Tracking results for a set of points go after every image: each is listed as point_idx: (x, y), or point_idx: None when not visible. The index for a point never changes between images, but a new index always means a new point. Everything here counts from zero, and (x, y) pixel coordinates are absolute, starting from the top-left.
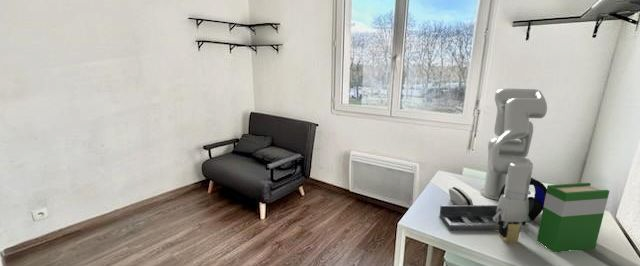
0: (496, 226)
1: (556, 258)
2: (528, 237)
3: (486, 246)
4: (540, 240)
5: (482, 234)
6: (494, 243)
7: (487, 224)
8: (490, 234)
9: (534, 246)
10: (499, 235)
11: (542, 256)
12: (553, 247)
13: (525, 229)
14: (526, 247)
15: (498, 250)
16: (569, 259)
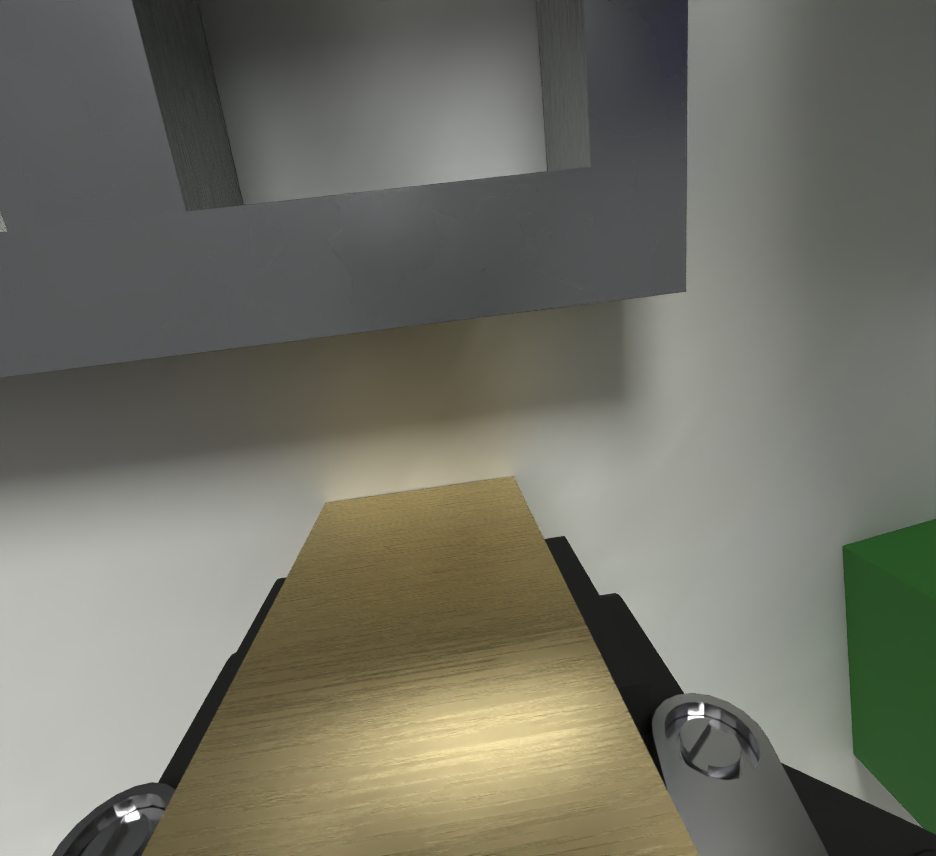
0: (300, 338)
1: None
2: (788, 471)
3: (32, 795)
4: (887, 619)
5: (26, 500)
6: (173, 710)
7: (49, 325)
8: (180, 477)
9: (714, 676)
10: (323, 508)
11: None
12: (916, 805)
13: (925, 204)
14: None
15: None
16: (920, 826)
